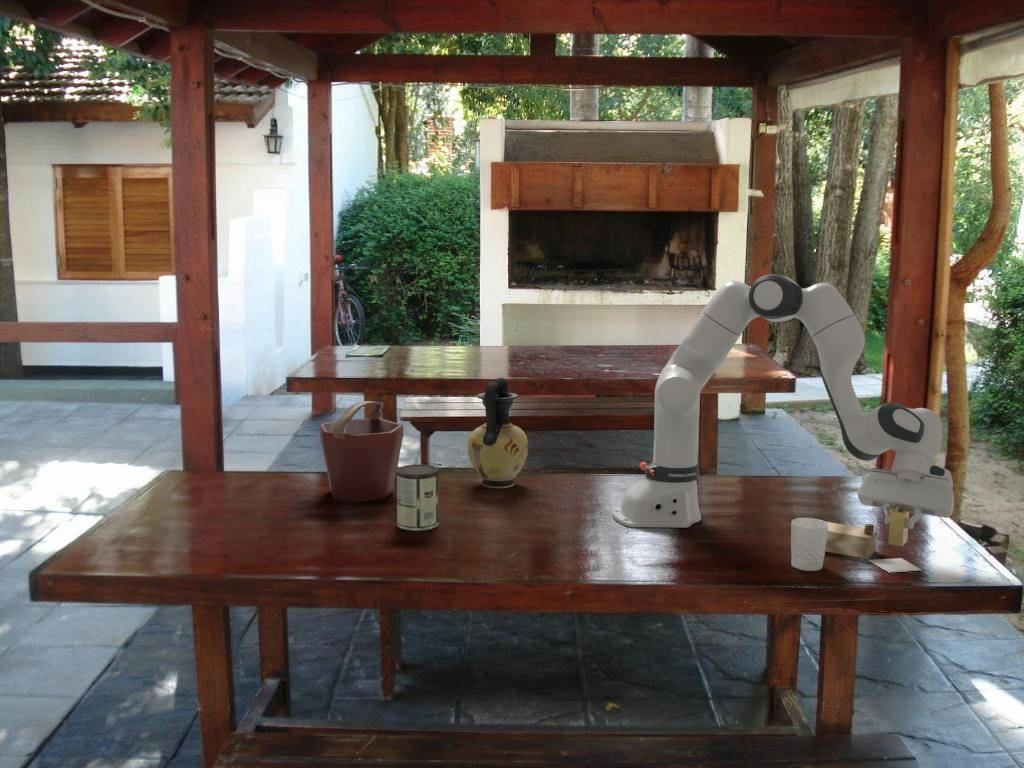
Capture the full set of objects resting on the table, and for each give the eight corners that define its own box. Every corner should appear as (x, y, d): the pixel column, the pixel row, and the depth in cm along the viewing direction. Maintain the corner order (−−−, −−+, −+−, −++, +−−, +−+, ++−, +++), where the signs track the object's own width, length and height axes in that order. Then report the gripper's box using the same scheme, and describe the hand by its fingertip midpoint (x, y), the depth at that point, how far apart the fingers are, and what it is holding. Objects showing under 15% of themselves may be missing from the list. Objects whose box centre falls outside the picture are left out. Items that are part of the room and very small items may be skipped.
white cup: (783, 560, 242) (786, 517, 241) (817, 560, 243) (820, 517, 241) (795, 572, 235) (798, 528, 233) (830, 572, 235) (833, 528, 234)
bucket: (364, 477, 309) (364, 392, 304) (423, 490, 296) (423, 401, 292) (301, 495, 289) (300, 404, 285) (361, 510, 276) (360, 415, 272)
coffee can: (409, 516, 272) (409, 462, 269) (445, 522, 267) (446, 467, 265) (388, 527, 262) (388, 471, 260) (425, 533, 258) (425, 476, 256)
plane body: (806, 547, 252) (808, 519, 250) (816, 540, 257) (817, 512, 256) (867, 559, 244) (869, 529, 243) (875, 551, 250) (877, 522, 249)
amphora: (472, 475, 313) (473, 374, 308) (529, 477, 311) (531, 375, 306) (463, 491, 296) (464, 384, 291) (524, 494, 294) (526, 386, 289)
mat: (888, 573, 235) (888, 571, 235) (869, 561, 242) (869, 559, 242) (921, 571, 236) (921, 569, 236) (901, 559, 244) (901, 558, 244)
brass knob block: (888, 543, 238) (890, 507, 236) (893, 538, 241) (895, 503, 240) (902, 546, 236) (904, 509, 235) (907, 541, 240) (909, 505, 238)
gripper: (863, 459, 247) (848, 510, 241) (957, 472, 236) (944, 526, 230) (867, 474, 252) (853, 525, 245) (960, 487, 241) (947, 540, 234)
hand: (898, 525), depth 237 cm, fingers closed on brass knob block, 3 cm apart
